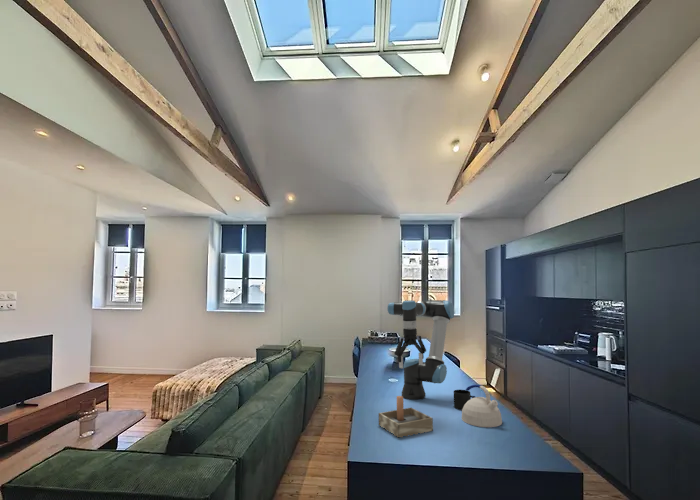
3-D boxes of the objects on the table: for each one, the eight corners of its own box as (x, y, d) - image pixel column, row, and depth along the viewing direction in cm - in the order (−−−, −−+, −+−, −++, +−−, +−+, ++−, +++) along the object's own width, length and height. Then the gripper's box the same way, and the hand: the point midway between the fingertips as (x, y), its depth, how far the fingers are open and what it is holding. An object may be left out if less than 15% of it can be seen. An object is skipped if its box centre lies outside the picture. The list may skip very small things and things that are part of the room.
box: (378, 425, 192) (378, 413, 193) (411, 419, 201) (411, 407, 202) (398, 438, 176) (398, 424, 177) (432, 430, 185) (432, 417, 186)
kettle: (482, 430, 185) (481, 392, 187) (453, 417, 204) (452, 383, 206) (511, 423, 195) (510, 387, 197) (480, 412, 213) (479, 378, 215)
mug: (476, 411, 215) (476, 394, 215) (454, 409, 217) (454, 393, 218) (474, 405, 224) (473, 390, 225) (453, 404, 226) (452, 389, 227)
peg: (395, 424, 193) (395, 396, 194) (401, 423, 195) (400, 395, 196) (399, 427, 190) (399, 398, 191) (405, 425, 192) (404, 397, 193)
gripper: (395, 330, 206) (396, 370, 204) (431, 327, 217) (433, 364, 216) (387, 329, 212) (388, 367, 211) (423, 325, 224) (424, 362, 222)
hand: (411, 366), depth 213 cm, fingers open, 13 cm apart
